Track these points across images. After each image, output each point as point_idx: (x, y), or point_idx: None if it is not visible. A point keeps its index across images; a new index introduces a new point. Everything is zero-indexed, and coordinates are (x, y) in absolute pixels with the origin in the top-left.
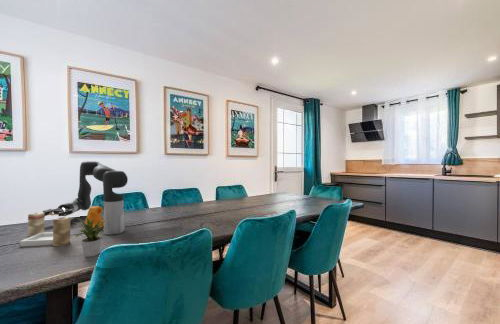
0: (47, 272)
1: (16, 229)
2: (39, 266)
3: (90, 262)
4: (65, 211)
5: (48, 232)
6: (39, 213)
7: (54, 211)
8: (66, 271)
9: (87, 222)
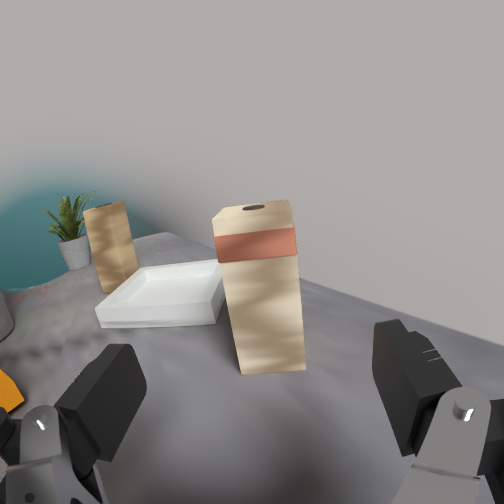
0: (134, 243)
1: None
2: (146, 247)
3: None
4: (39, 418)
5: (174, 302)
6: (231, 210)
7: None
8: None
9: (70, 205)
